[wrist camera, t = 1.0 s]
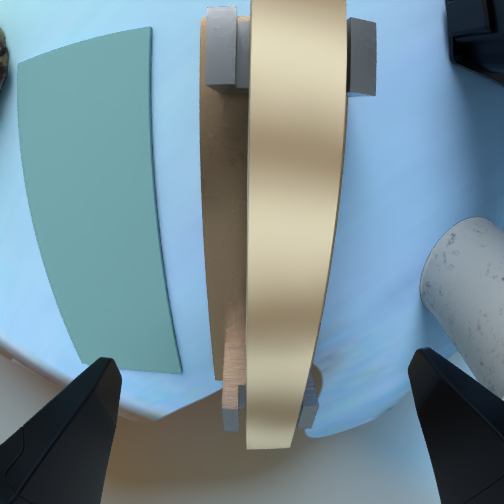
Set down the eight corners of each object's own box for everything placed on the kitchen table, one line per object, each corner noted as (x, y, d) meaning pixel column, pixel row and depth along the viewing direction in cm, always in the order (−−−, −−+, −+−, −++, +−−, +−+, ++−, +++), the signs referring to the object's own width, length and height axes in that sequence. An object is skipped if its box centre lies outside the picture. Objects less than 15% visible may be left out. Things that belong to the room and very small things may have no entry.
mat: (152, 28, 13) (150, 26, 13) (182, 370, 25) (181, 373, 25) (21, 63, 13) (17, 63, 12) (83, 360, 25) (82, 363, 24)
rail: (250, 1, 9) (252, -27, 6) (323, 7, 9) (344, -17, 6) (245, 415, 20) (246, 449, 18) (285, 414, 20) (289, 447, 18)
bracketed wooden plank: (203, 22, 13) (180, -24, 7) (343, 30, 13) (397, -3, 7) (215, 371, 25) (211, 440, 19) (307, 369, 25) (321, 436, 19)
